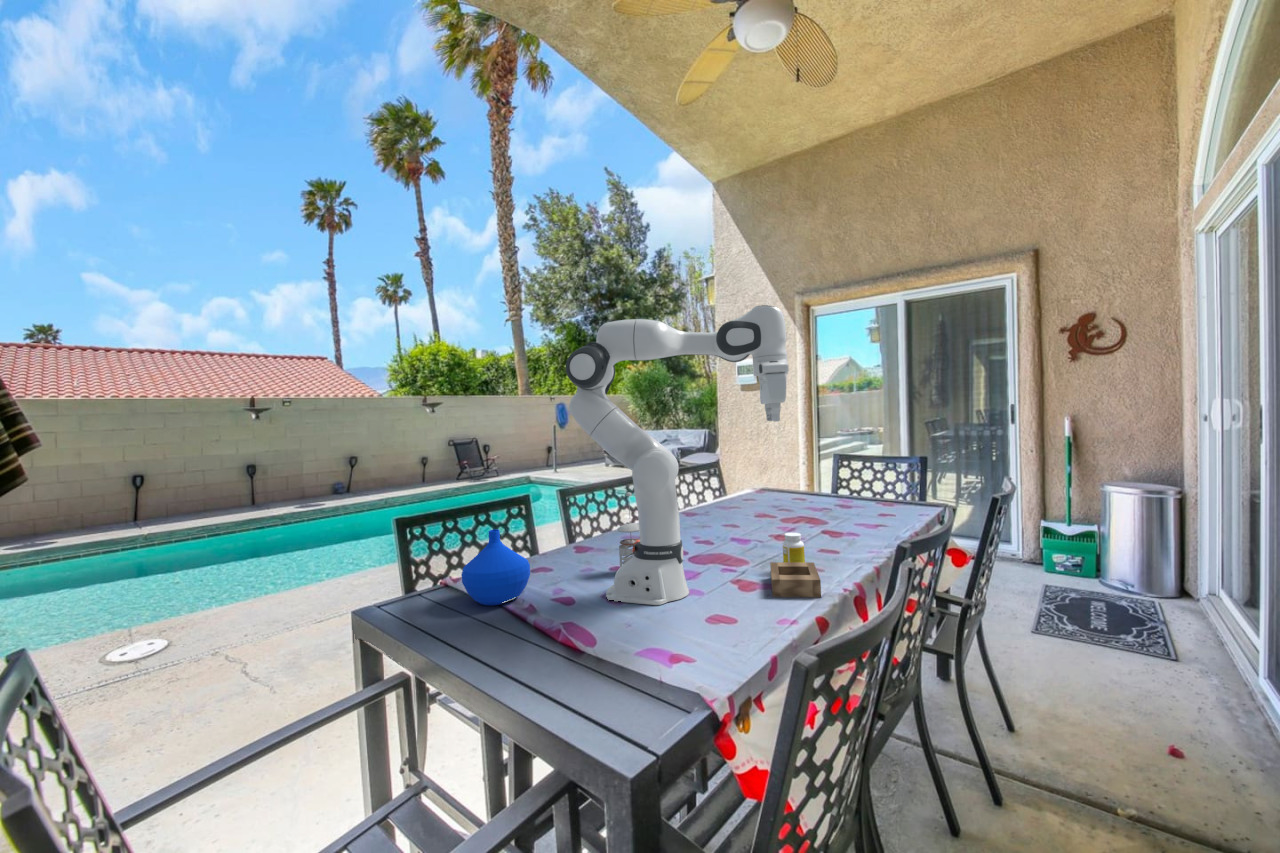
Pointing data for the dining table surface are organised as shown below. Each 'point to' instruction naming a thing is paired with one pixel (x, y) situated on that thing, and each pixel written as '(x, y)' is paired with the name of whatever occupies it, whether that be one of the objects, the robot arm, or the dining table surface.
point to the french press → (627, 542)
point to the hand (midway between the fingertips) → (773, 421)
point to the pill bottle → (793, 548)
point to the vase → (495, 573)
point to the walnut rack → (795, 579)
